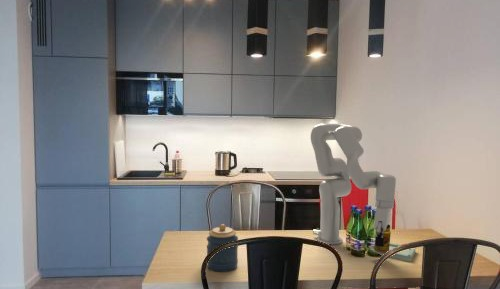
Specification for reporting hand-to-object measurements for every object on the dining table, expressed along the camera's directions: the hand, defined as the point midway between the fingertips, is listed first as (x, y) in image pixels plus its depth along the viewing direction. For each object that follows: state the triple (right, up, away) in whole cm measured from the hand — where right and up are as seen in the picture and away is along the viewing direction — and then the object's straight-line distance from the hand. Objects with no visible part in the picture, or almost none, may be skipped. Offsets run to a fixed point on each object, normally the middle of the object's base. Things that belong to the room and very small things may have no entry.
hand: (381, 243), depth 152 cm
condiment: (0, -3, +1) cm, 4 cm away
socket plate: (+11, -7, +9) cm, 16 cm away
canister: (-69, -8, -7) cm, 70 cm away
